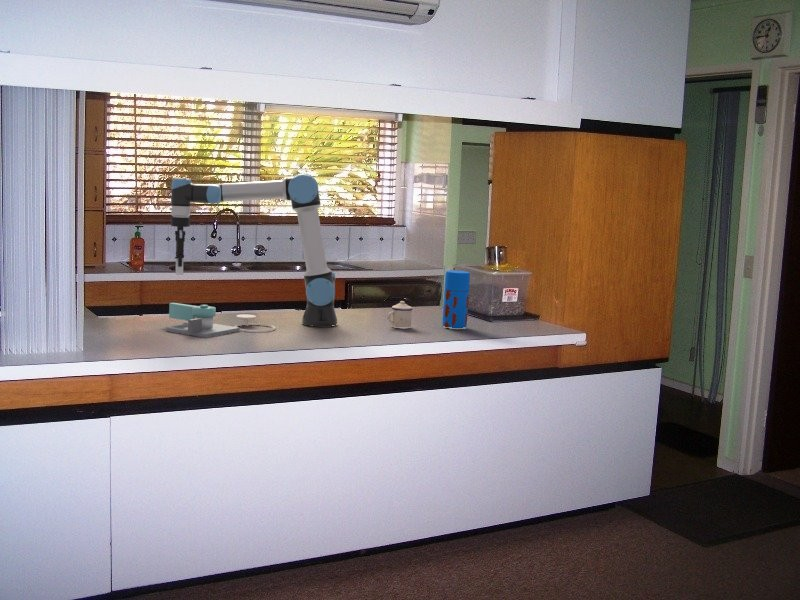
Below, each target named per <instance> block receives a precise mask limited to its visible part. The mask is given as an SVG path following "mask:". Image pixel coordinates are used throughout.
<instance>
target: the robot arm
mask: <svg viewBox="0 0 800 600" xmlns="http://www.w3.org/2000/svg"><path fill="white" fill-rule="evenodd" d="M170 193H171V194H170V198H171V201H170V202H171V204H170V207H169V211H170V215H171V217H170V227H176V230H174V234H175V237H174V238H175V257H174V259H175V274H176V276H180V275H181V276H183V275H184V257H185V255H184V248H185V242H186V241H185V239H186V237H185V236H186V230H184V228H187V227H190V226H191V218H190V216H191V203H193V204H194V203H197V204H198V203H199V204H210V205H213V204H214V205H215V204H220V203H222V202H223V203H225V202H241V201H242V202H243V201H256V200H259V201H260V200H276V199H284V200H285V201H290V202H291V208H292V211H294V212H296V216H297V221H298V222H297V223H298V227H299V232H300V233H299V234H300V240H301V246H302V251H303V256H304V257H303V258H304V262H305V268H306V271H305V272H304V274H303V278H304V279H303V280H304V286H305V296H306V307H305V310H304V312H303V315H302V319H301V324H302V323H303V324H306V325H305V326H307V325H313V326H312V327H314V326H332V325H336V324H337V325H338V317H337V314H336V311H335V296H336V273H335V272H333V271H332V269H331V268H329V267H328V263H327V257H326V251H325V246H324V240H323V239H324V238H323V231H322V228H321V220H320V216H319V215H320V214H319V208H320V207H321V199H320V192H319V183H318V182H317V180H316V179H315V177H313V175H311V174H308V173H304V172H303V173H298V174H295V175H294V176H288V177H284V178H283V179H280V180H279V179H278V180H263V181H261V180H260V181H246V182H230V183H229V182H227V183H215V184H214V183H211V184H210V183H209V184H208V183H207V184H202V183H199V184H198V183H192V180H191V178H180V177H174V178H173V179H172V181H171V188H170ZM303 324H302V325H303ZM337 325H336V326H337ZM332 327H333V326H332Z"/></svg>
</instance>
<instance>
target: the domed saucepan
mask: <svg viewBox="0 0 800 600" xmlns="http://www.w3.org/2000/svg"><path fill="white" fill-rule="evenodd" d="M168 305H169V308H168V317H169V319H173V320H174V319H176V320H181V321H187V322H188V320H190V319H195V316H196V317H213V318H214V317H216V316H217V315H216V314H217V313H216V307H215V306H210V305H208V304H200V305H192V304H186V303H185V304H184V303H179V302H170V303H169V304H168Z"/></svg>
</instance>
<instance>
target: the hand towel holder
mask: <svg viewBox="0 0 800 600" xmlns="http://www.w3.org/2000/svg"><path fill="white" fill-rule="evenodd" d="M256 317H257V316H256V315H254V314H247V313H246V314H245V313H243V314H237V315H236V318H238V319H241V320H243V323H238V324H236V325H234V326H233V327H238V326H240V327H243V326H242V325H247V326H246V327H248V325H260V327H266V326H268V327H267V328H270V329H244V328H240V331H239V332H243V331H247V332H246V333H269V331H271V332H274V331H276V326H275V325H272V324H267V323H259V322H258V323H257V322H256V323H255V322H249V320H252V319H255V318H256ZM271 327H272V328H271ZM273 330H274V331H273Z"/></svg>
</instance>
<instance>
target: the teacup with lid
mask: <svg viewBox="0 0 800 600" xmlns="http://www.w3.org/2000/svg"><path fill="white" fill-rule="evenodd" d="M412 312H413V307H412V306H410V305H408V304H407V303H405V300H404V301H403V300H400V301H399V303H396V304H395V305H392V306H391V311H390V312H388V313H387V317H386V318H387V320H388V322H389V323H390V324H391V325H392V326H395V327H410V326H411V327H412V316H413V314H412ZM390 317H391V318H390Z"/></svg>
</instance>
